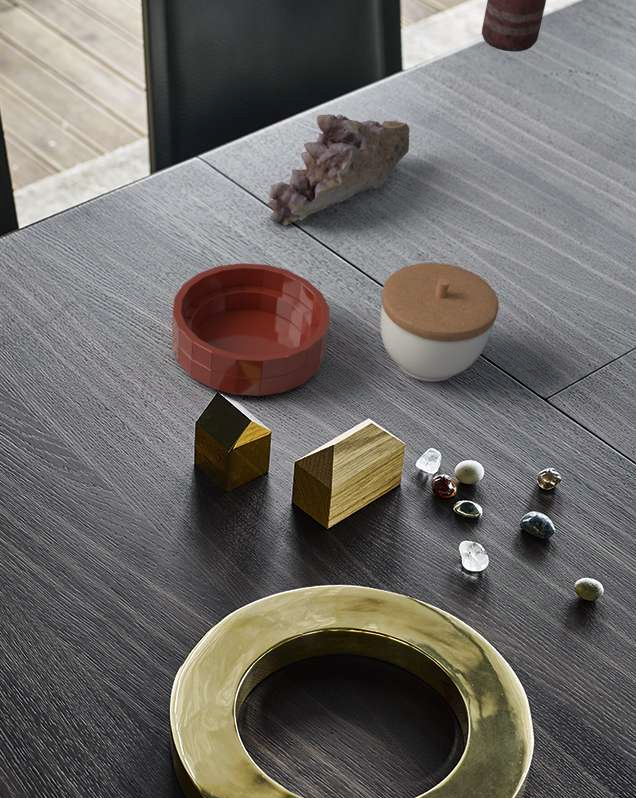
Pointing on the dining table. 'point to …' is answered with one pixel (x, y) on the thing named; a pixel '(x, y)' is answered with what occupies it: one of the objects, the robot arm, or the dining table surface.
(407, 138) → the mineral specimen
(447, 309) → the trinket box
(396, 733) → the dining table surface
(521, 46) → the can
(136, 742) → the dining table surface
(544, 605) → the dining table surface
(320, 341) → the bowl
